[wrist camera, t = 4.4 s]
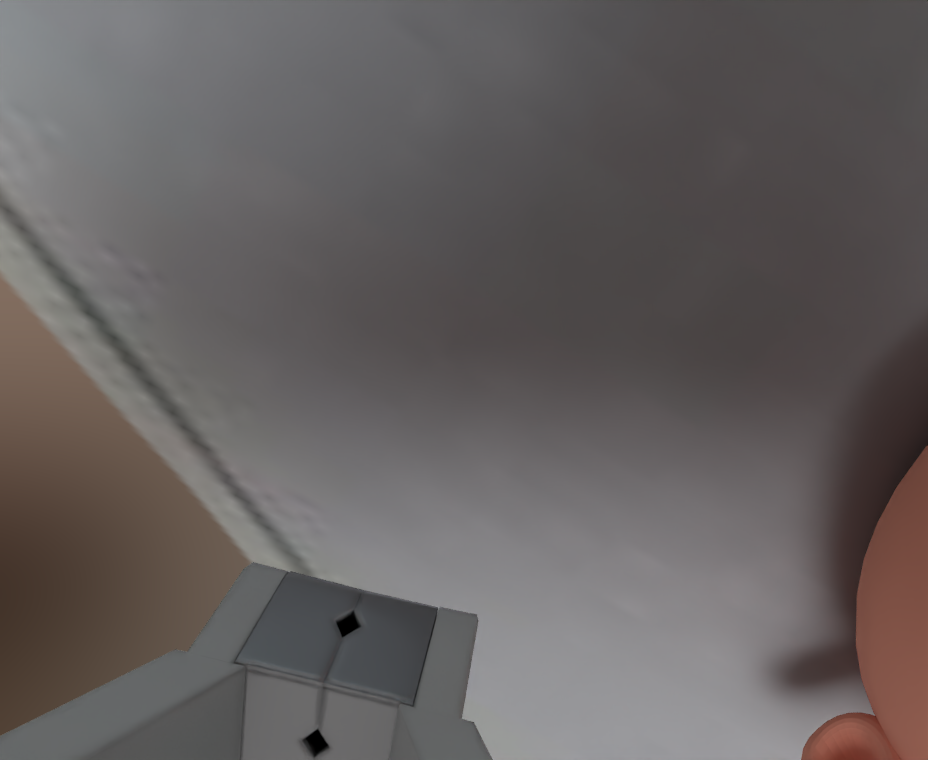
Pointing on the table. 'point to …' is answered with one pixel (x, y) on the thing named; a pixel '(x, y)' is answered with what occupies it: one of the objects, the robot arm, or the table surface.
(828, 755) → the teapot
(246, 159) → the table surface
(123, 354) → the table surface
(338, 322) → the table surface
